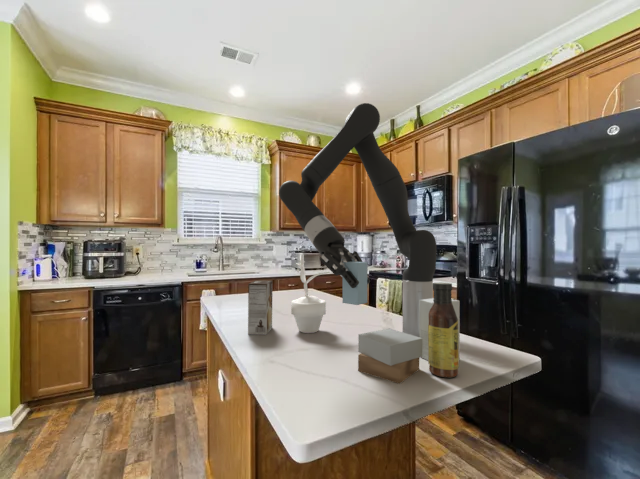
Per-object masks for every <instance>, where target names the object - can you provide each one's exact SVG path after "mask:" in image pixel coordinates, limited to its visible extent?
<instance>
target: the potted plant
mask: <svg viewBox="0 0 640 479" xmlns="http://www.w3.org/2000/svg"><path fill="white" fill-rule="evenodd" d="M305 263H306V261H305V260H304V259H303V257H301V258H300V260H299V261H298V262H295V264H296V265H297V266H299V267H300V268H297V269H296V270H295V271H297V273H299V275H300V276H299V277H300V278H299V279H300V280H301V283H303V290H304V295H305V296H301V297H299V298H297V299H293V300H291V302H290V303H291V304H290V307H291V308H290V309H291V312H290V313H291V315H293V316H294V319H295V324H296V326H297V330H298V331H299V332H301V333H304V334H313V333H317V332H318V331H319V329H320V326H321V323H322V321H323V317H324V316H325V315H326V314H327V313H326V311H327V310H326V309H327V302H326V300H325V299H320V298H319V297H318V296H316V295H309V290H308V284H309V283H310V282H311V281H312V280H313V279H315V278H316V277H317V276H321V275H324V274H325V275H326V274H329V273H330V271H324V272H319V273H316V274H313V275H312V276H310V277H308V279H306V269H305V266H304V264H305Z"/></svg>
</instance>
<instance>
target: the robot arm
mask: <svg viewBox="0 0 640 479" xmlns="http://www.w3.org/2000/svg"><path fill="white" fill-rule="evenodd" d="M380 120H381V115H380V111H379V110H378V108H377V107H376V106H375V105H373V104H372V103H367V102H364V103H360V104H358V105H356V106H354V108H352V110H351V111H350V112H349V113H348V115H347V116H346V118H345V121H344V124H343V126H342V128H341V129H340V130H339V131H338V132H337V133H336V135H335V136H334V137H333V138H332V139H331V140H330V141H329V142H328V143H327V144H326V145H325V146H324V147H323V148H322V149H321V150H320V151H319V152H318V153H317V154H315V156H313V158H312V159H311V160H310V162H308V164H306V166H305V167H304V168H303V169H302V171H301V175H300V176H301V181H300V183H299V182H298V181H295V180H287V181H285V182H283V183H282V184H281V185H280V187H279V190H278V196H279V198H280V200H281V201H282V203H283V204H284V205H285V207H286V208H287V209H288V210H289V211H290V212H291V214H292V215H293V216H294V218H295V219H296V221H297V223H298V224H299V225H300V227H301V229H302V230H303V232H304V233H305V235H306V236H307V238H308V240H309V241H310V243H311V244H312V245H313V247H314V248H315V249H316V250H317V252H318V253H319V255H320V258H319V261H320V262H322V264H323V265H325V267H326V268H328V269H329V271H331V273H332V274H333V275H335V276H338V275H339V276H340V277H341V278H343V277H344V278H345V280H346V281H347V282H348V284H349V285H350V286H351V288H355V287H356V286H357V285H358V284H359V281H358V280H357V279H356V277H355V276H354V275H353V274H352V272H351V271H349V268H348V267H347V265H346V262H363V259H362V258H361V257H360V255H359V253H358V252H357V251H355V250H354V251H353V252H350V250H349V249H348V248H347V247H345V243H346V240H345V238H344V237H343V235H342V233H341V232H340V231H339V230H338V228H336V227H335V226H334V224H333V223H332V222H331V221H330V219H329V218H327V217H326V215H325V214H324V213H323V212H322V211H321V210H320V209H319V207H318V206H317V205H316V204H315V203H314V202H313V200H314V198H315V196H316V195H317V193H318V191H319V190H320V189H319V188H320V187H321V185H323V184H324V183H325V182H326V180H327V179H328V178H329V177H330V176H331V175H332V174H333V173H334V171H335V170H336V168H337V167H338V166H339V165H340V164H341V162H342V161H343V160H344V159H345V157H347V155H348V154H349V153H350V152H351V151H352V150H353V149H354V150H355V152H356V153H357V154H358V157H359V158H360V161H361V162H362V164H363V167H364V169H365V172H366V174H367V177H368V178H369V180H370V183H371V186H372V187H373V190H374V192H375V195H376V196H377V198H378V200H379V202H380V204H381V207H382V208H383V211H384V213H385V216H386V217H387V219H388V220H387V221H388V222H389V224H390V227H391V230H392V232H393V235H394V239H395V241H396V244H397V247H398V249H399V251H400V253H401V254H402V256H404V257H406V258H408V259H409V262H408V267H407V268H406V269H404V270H403V271H402V332H403V333H407V334H410V335H413V336H417V337H420V309H419V303H420V302H419V300H423V299H431V298H434V291H433V283H434V275H435V273H436V272H435V271H436V269H437V268H436V265H437V240H436V238H435V236H434V234H433V233H432V232H430V231H429V230H426V229H416V227H415V225H414V224H413V222H412V219H411V217H410V214H409V205H408V204H409V203H408V199H409V198H408V197H409V196H408V189H407V187H406V186H407V185H405V181H404V179H403V177H402V175H401V173H400V171H399V169H398V168H397V166H396V165H395V164H394V163H393V162H392V161H391V160H390V159H389V157H388V156H387V155H385V153H384V152H383V151H382V150H381V148H380V146H379V144H378V142H377V139H376V137H375V134H374V133H375V131H376V130H377V129H378V128H379V127H378V126H379V124H380ZM337 169H338V168H337ZM370 282H371V280H370V278H369V277H368V279H367V286H368V285H369V284H370Z"/></svg>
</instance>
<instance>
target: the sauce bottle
mask: <svg viewBox="0 0 640 479" xmlns="http://www.w3.org/2000/svg"><path fill="white" fill-rule="evenodd" d="M452 291H453V284H452V283H450V282H433V298H434V300H433V301H434V304H433V306H432V307H431V309H430V311H429V324H428V355H429V361H428V365H429V367H428V368H429V369H428V370H429V372H430V373H431V374H432V375H434V376H437V377H440V378H446V379H447V378H448V379H449V378H450V379H451V378H455V377H456V376H458V375H459V367H460V363H459V361H460V360H459V350H458V347H459V345H458V318H457V316H456V313H455V310H454V307H453V304H452V299H453V298H452Z"/></svg>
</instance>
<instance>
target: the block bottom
mask: <svg viewBox="0 0 640 479" xmlns="http://www.w3.org/2000/svg"><path fill="white" fill-rule="evenodd" d="M357 355H358V357H357V359H358V360H357V361H358V362H357V368H358V370H357V371H358V372H360V373H364V374H366V375H369V376H373V377H377V378H379V379H383V380H386V381H390V382H393V383H395V384H399V385H400V384H402V383H403V382H405V381H406V380H407V379H408V378H410V377H412V376H413V375H414V374H415V373H416V372H418V371H419V370H420V357H419V358H416V359H412V360H409V361H405V362H402V363H398V364H395V365H391V366H390V365H388V364H385V363H383V362H381V361H378V360H376V359H374V358H372V357H369V356H367V355H365V354H362V353H359V354H357Z"/></svg>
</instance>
